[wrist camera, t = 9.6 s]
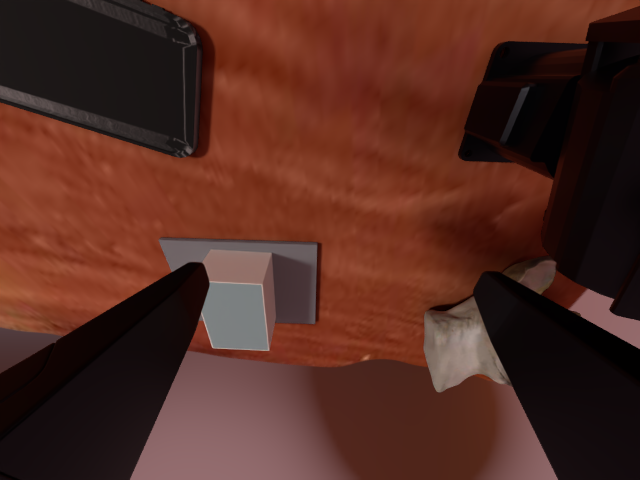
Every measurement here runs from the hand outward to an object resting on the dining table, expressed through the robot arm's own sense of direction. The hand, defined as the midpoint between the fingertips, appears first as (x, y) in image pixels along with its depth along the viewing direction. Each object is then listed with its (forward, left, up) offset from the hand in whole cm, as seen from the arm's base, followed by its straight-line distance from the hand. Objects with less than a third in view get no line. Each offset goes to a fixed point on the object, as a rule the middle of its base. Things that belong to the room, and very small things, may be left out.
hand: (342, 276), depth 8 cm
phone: (+16, -6, -13) cm, 21 cm away
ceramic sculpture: (-16, +14, -12) cm, 25 cm away
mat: (+8, +12, -12) cm, 19 cm away
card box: (+8, +12, -12) cm, 19 cm away
